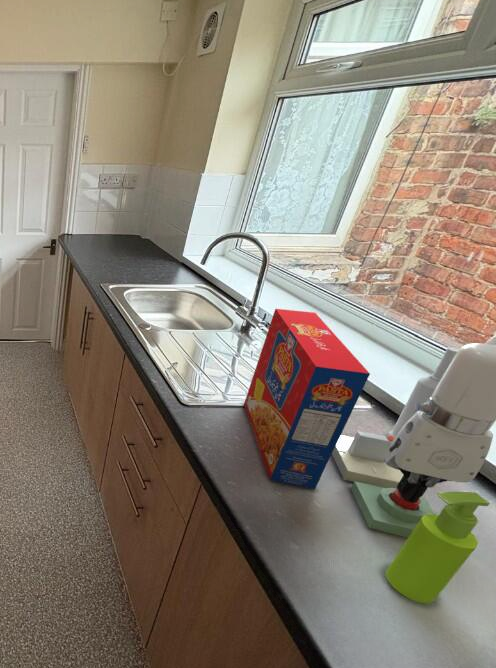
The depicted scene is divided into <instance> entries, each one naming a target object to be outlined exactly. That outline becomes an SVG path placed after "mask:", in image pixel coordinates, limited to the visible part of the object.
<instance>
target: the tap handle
mask: <svg viewBox="0 0 496 668" xmlns="http://www.w3.org/2000/svg"><path fill="white" fill-rule="evenodd" d="M353 438H354V439H353V441H352V443H351V445H350V447H349V449H348V451H349V453H350V455H352V456H356V457H361V458H366V459H370V460H375V461H380V462H384V463H385V461H384V458H386V457H387V456H388V455H389V454H390V453H389V447H390V445H391V443H392V441H393V440H394V438H393V437H391V436H388V435H382V434H377V433H374V432H373V433H372V432H368V431H363V430H357V431H356V433H355V435H354V437H353Z"/></svg>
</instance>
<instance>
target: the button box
mask: <svg viewBox="0 0 496 668" xmlns="http://www.w3.org/2000/svg"><path fill="white" fill-rule="evenodd" d="M350 490H351V493H352V495H353V497H354V499H355V501H356V503H357V506H358V508H359V510H360V512H361V514H362V516H363V518H364V520H365V523H366V524H367V527H368V528H369V529H373V530H377V531H381V532H384V533H387V534H392V535H395V536H399V537H403V538H407V539H408V538H409V536H410V535H411V533H412V532H413V530H414V529H415V527H416V526H417V524H418V523H419V521H420V520H421V518H422V517H423V516H424V515H426V514H436V512H435V511H434V509H433V508H432V506H431V505H430V503H429V502H428V500H427V499H426V497H424V496H422V497H420V498H419V499H420V501H421V502H420V504H419V506H418V507H417V509H416V510H413V511H412V510H408V509H405V508H402V507H400V506H398V505H397V504H395V503H394V502H393V501H392V500H391V495H392V494H393V492H394V490H395V488H382V487H378V486H373V485H369V484H365V483H360V482H356V481H355V482H353V483H352V485H351V487H350Z"/></svg>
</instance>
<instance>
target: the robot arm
mask: <svg viewBox="0 0 496 668" xmlns="http://www.w3.org/2000/svg"><path fill="white" fill-rule="evenodd" d="M458 349H459V350H458V352H457V353H456V355H455V357H454V358H453V360H452V362H451V363H450V365H449V367H448V368H447V370H446V372H445V374H444V375H443V377H442V379H441V380H440V382H439V384H438V386H437V387H436V389H435V391H434V392H433V394H432V396H431V398H429V399H428V401H427V402H426V403H417V404H416V410H418V412H417V413H415V414H414V415H413V416H412V417H411V418H410V419H409V420H408V421H407V422H406V424H405V425H404V426H403V427H402V428H401V430H400V431H399V432H398V434H397V435H396V437H395V438H394V440H393V441H392V443H391V445H390V447H389V453H390V454H389V455H388V456H387V457H386V458H384V461H385V463H386V465H387V466H389V467H392V468H394V469H398V470H400V471H401V472H402V474H403V477H402V479H401V480H400V482H399V483H398V485H397V489H398V491H399V492H400V494H401V495H402V497H403V499H404V500H407V501H409V500H410V501H412V502H415V503H416V502H417V501H418V500H419V498H420V497H424V495H425V493H426V491H427V490H428V489H429V488H434V487H435V486H437V484H440V483H444V482H456V483H470V482H471V481H473V480H474V479H475V478H476V476H477V475H478V473H479V471H480V470H481V468H482V466H483V465H484V463H485V460H486V459H487V456H488V454H489V452H490V449H491V446H492V444H493V443H492V442H493V438H494V433H493V432H492V431H491V430H490V429H491V428H492V427H493V425H494V424H495V422H496V334H495V335H493V336H492V337H490V338H489V339H488V340H486V342H484V343H483V342H482V343H481V342H473V343H467V344H465V345H462V346H461V347H460V348H458Z"/></svg>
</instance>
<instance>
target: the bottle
mask: <svg viewBox="0 0 496 668" xmlns="http://www.w3.org/2000/svg"><path fill="white" fill-rule="evenodd" d="M459 349H460V348H457V347H451V346H448V347H447V348H446V350H445V352H444V354H443V355H442V358H441V359H440V362H439V363H438V365H437V367H436V368H435V370H434V372H433V373H432V374H429V376H423V377H420V378H418V379H417V382H416V384H415V385H414V387H413V389H412V391H411V393H410V395H409V398H408V399H407V401H406V403H405V405H404V407H403V409H402V411H401V413H400V415H399V417H398V419H397V421H396V423H395V425H394V427H393V429H392V430H390V431H389V433H388V435H387V436H391V437H393V438H395V437H396V435H397V434H398V432H399V431H400V430H401V428H402V427H403V426H404V425H405V424H406V422H407V421H408V420H409V419H410V418H411V417H412V416H413V415H414V414H415V413H417V412H418V410H416V404H417V403H426V402H427V401H428V399H429V398H431V396H432V394H433V392H434V391H435V389H436V387H437V386H438V384H439V382H440V380H441V379H442V377H443V375H444V374H445V372H446V370H447V368H448V367H449V365H450V363H451V362H452V360H453V358H454V357H455V355H456V353H457V352H458V350H459Z"/></svg>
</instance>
